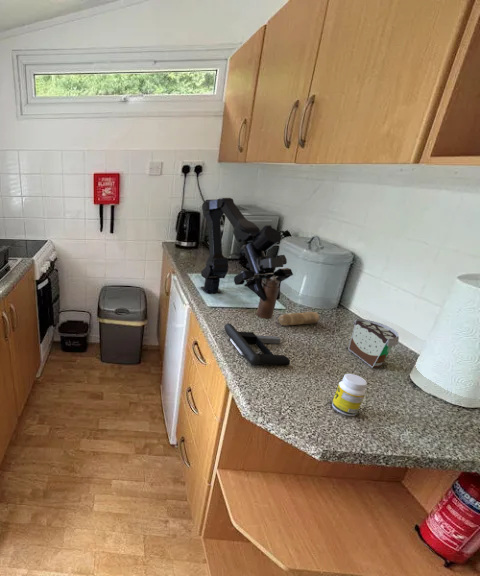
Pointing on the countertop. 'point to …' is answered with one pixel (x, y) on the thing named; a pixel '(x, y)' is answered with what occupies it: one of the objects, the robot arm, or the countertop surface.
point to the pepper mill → (268, 298)
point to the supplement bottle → (349, 394)
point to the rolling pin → (299, 318)
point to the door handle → (246, 338)
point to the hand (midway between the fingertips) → (271, 300)
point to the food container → (372, 341)
